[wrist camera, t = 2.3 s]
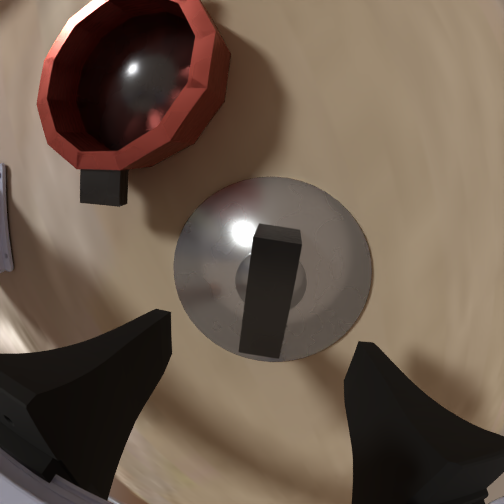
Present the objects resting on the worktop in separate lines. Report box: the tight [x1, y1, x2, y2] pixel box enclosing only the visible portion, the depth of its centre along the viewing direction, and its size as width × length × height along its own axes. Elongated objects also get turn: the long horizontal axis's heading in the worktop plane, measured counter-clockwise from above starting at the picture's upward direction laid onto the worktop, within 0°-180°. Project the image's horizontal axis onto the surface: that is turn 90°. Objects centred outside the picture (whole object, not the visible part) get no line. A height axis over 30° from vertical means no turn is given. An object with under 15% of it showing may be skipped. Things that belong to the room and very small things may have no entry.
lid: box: [174, 177, 372, 362], centre depth 16 cm, size 12×12×4 cm
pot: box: [37, 0, 231, 206], centre depth 13 cm, size 14×11×4 cm
